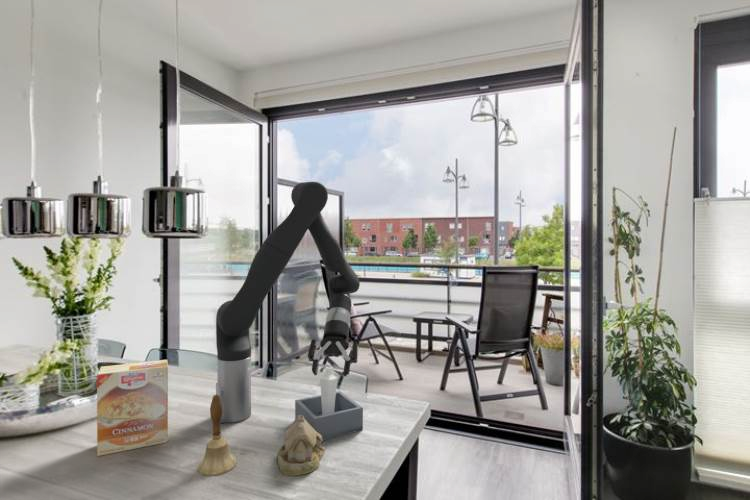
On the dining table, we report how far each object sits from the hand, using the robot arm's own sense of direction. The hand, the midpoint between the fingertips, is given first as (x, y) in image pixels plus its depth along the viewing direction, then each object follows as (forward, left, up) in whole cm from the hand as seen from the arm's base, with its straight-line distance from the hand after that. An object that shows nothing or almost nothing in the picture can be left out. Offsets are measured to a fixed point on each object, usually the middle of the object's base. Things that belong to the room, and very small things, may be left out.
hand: (330, 374), depth 115 cm
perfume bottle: (-1, -2, -13) cm, 13 cm away
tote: (-1, -2, -13) cm, 14 cm away
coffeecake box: (-47, +13, -14) cm, 51 cm away
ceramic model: (-14, -15, -14) cm, 24 cm away
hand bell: (-31, -8, -14) cm, 35 cm away
